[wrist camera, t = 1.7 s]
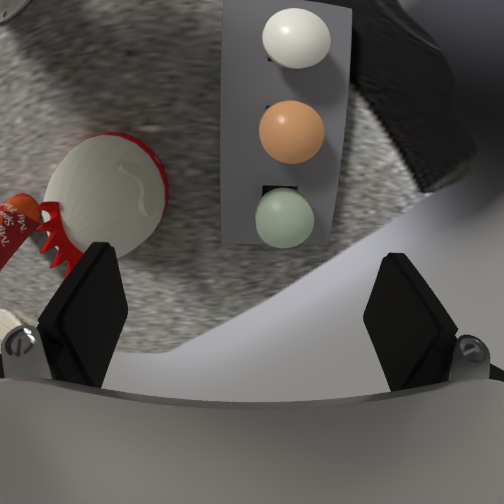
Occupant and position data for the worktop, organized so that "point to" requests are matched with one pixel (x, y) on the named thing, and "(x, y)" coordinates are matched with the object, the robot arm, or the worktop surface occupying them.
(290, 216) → the button sage
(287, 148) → the button terracotta
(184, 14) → the worktop surface
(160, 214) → the white rounded crested piece
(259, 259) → the worktop surface
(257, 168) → the console
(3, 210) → the paper cup
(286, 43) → the button ivory
